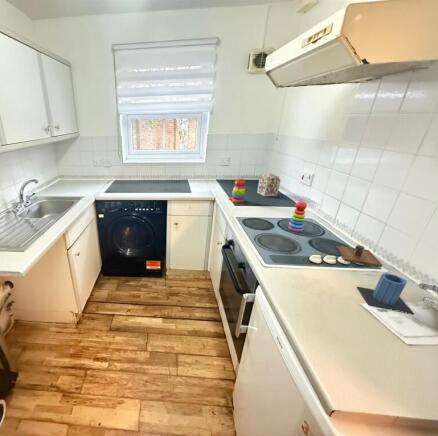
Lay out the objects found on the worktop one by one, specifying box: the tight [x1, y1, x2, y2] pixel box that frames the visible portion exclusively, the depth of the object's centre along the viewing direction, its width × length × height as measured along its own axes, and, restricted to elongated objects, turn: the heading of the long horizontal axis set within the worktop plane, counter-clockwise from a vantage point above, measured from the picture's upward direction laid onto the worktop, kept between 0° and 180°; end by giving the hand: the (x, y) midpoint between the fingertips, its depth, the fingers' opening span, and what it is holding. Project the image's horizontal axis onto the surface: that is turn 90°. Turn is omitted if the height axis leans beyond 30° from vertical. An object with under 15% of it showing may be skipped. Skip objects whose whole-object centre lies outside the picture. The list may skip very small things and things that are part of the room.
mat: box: [356, 286, 415, 315], centre depth 84 cm, size 12×10×1 cm
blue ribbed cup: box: [372, 272, 408, 305], centre depth 82 cm, size 6×6×9 cm
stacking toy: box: [287, 200, 308, 233], centre depth 130 cm, size 8×8×19 cm
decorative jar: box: [256, 172, 281, 198], centre depth 197 cm, size 12×12×18 cm
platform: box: [334, 244, 383, 268], centre depth 107 cm, size 13×13×7 cm
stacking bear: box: [228, 177, 246, 204], centre depth 182 cm, size 11×10×18 cm
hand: (421, 291), depth 77 cm, fingers open, 8 cm apart
